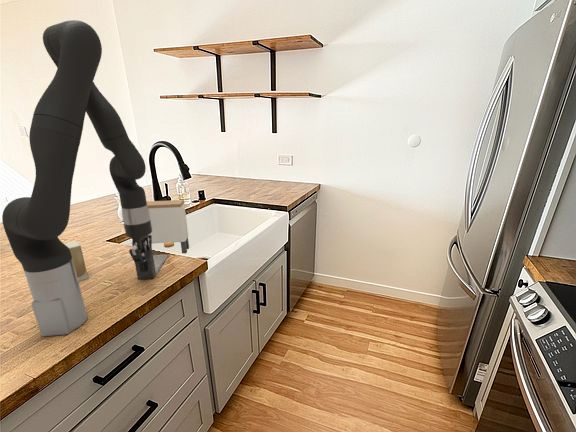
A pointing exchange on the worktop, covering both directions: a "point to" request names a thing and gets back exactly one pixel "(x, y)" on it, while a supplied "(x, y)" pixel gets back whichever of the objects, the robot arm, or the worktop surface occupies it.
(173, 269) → the worktop surface
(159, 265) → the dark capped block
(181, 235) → the cabinet
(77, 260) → the skincare box
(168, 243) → the token
